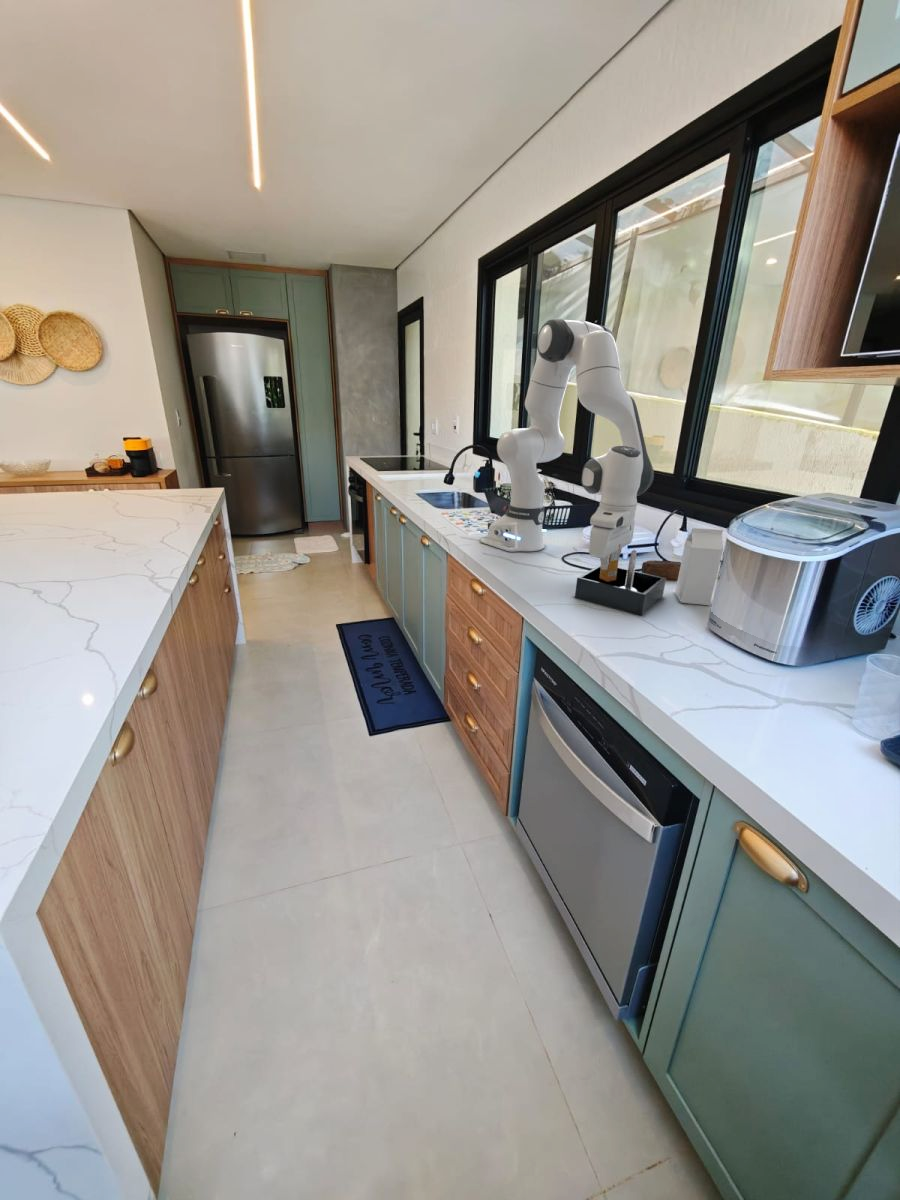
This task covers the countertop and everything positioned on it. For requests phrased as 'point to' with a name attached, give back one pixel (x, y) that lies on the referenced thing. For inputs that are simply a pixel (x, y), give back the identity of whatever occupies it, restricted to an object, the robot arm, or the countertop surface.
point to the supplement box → (611, 567)
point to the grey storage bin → (621, 590)
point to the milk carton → (699, 566)
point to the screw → (630, 572)
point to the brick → (662, 569)
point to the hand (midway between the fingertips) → (608, 566)
